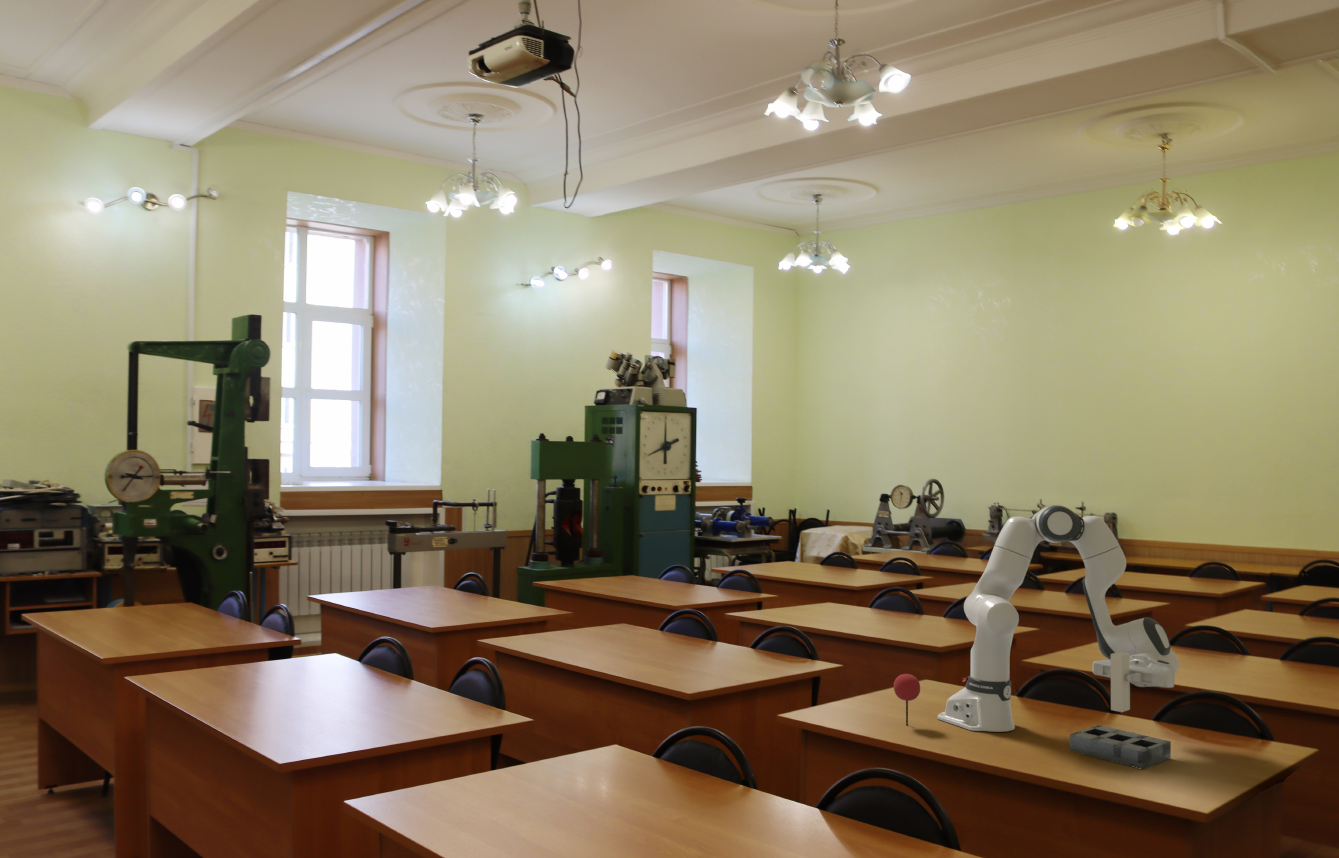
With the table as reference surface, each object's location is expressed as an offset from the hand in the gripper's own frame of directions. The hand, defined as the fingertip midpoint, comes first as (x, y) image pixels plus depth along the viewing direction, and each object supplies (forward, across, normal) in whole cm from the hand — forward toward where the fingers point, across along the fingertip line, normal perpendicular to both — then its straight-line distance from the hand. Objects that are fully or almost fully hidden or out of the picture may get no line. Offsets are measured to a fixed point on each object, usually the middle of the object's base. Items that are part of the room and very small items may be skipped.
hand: (1118, 676), depth 256 cm
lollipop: (+23, -52, +21) cm, 61 cm away
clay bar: (-1, 0, +9) cm, 9 cm away
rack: (-1, 0, +21) cm, 21 cm away
